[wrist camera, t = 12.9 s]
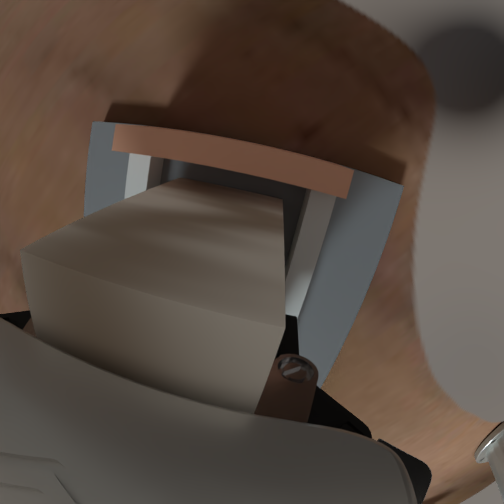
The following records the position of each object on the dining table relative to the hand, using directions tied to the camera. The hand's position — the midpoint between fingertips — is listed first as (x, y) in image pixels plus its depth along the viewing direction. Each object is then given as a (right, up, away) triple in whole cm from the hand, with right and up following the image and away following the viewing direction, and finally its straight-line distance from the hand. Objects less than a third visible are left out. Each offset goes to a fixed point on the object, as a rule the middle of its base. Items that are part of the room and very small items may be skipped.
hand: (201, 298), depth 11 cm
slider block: (0, +1, +2) cm, 2 cm away
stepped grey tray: (-1, -5, +6) cm, 8 cm away
